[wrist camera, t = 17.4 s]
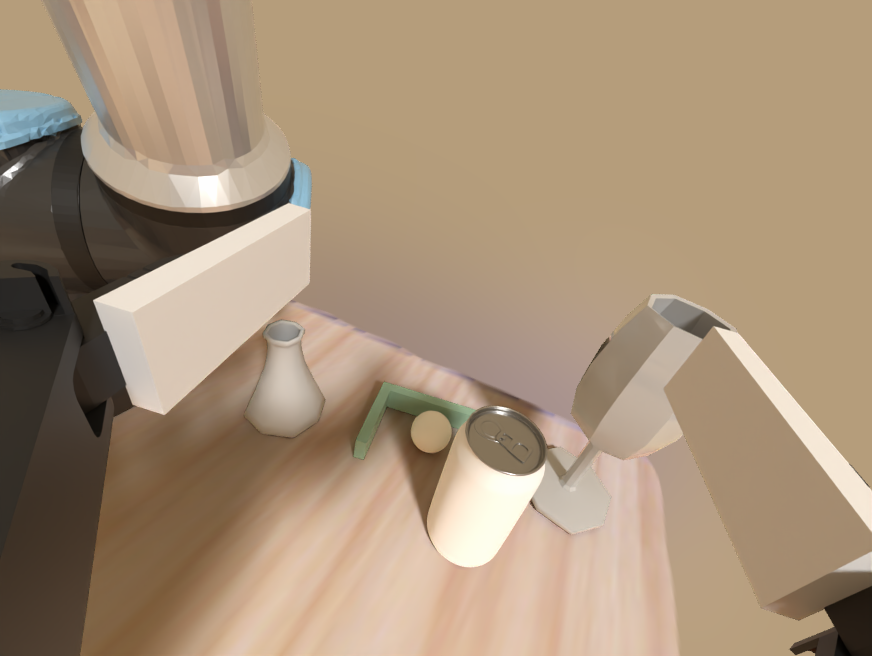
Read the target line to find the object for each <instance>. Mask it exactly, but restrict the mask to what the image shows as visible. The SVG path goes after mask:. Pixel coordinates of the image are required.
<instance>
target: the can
mask: <svg viewBox="0 0 872 656" xmlns="http://www.w3.org/2000/svg"><path fill="white" fill-rule="evenodd" d="M547 453H548V450H547V444H546V441H545V438H544V436H543V434H542V432H541V431H540V430H539V428H538V427H537V426H536V425H535V424H534V423H533V422H532V421H531V420H530V419H529V418H527V417H526V416H525V415H523V414H521V413H520V412H518V411H516V410H513V409H510V408H507V407H503V406H485V407H482V408H479V409H477V410H476V411H474V412H473V413H472V414H471V415H470V417H469V418H468V420H467V421H466V422H465V423H464V424H463V425H462V426H461V427H460V428H459V430H458V432H457V433H456V436H455V438H454V441H453V443H452V446H451V449H450V451H449V454H448V457H447V460H446V462H445V465H444V468H443V471H442V474H441V476H440V479H439V482H438V485H437V488H436V491H435V493H434V496H433V499H432V502H431V505H430V508H429V511H428V516H427V529H428V533H429V536H430V539H431V541H432V543H433V545H434V546H435V548H436V549H437V551H438V552H439V553H440V554H441V555H442V556H443V557H444V558H446V559H447V560H449V561H450V562H452V563H454V564H456V565H459V566H463V567H477V566H481V565H483V564H485V563H487V562H489V561H490V560H491V559H492V558H493V557H494V556H495V555H496V553H497V552H498V550H499V549H500V547H501V546H502V544H503V543H504V541H505V539H506V538H507V536H508V535H509V533H510V532H511V530H512V528H513V527H514V525H515V524H516V522H517V520H518V519H519V517H520V516H521V514H522V513H523V511H524V509H525V508H526V506H527V504H528V503H529V501H530V500H531V498H532V496H533V495H534V493H535V491H536V490H537V488H538V486H539V485H540V483H541V481H542V478H543V476H544V472H545V461H546V459H547Z"/></svg>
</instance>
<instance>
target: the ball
mask: <svg viewBox="0 0 872 656" xmlns="http://www.w3.org/2000/svg"><path fill="white" fill-rule="evenodd" d="M451 435H452V429H451V425H450V422H449V420H448V419H447V418H446V417H445V416H444V415H443V414H442V413H440V412H437V411H426V412H423V413H421V414H420V415H418V416H417V417H416V418H415V420H414V421H413V424H412V427H411V437H412V440H413V442H414V444H415V445H416V446H417V448H419V449H420V450H421V451H424V452H427V453H436V452H439V451H441V450H443V449H444V448H445V447H446V446H447V445H448V443H449V441H450V439H451Z"/></svg>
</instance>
